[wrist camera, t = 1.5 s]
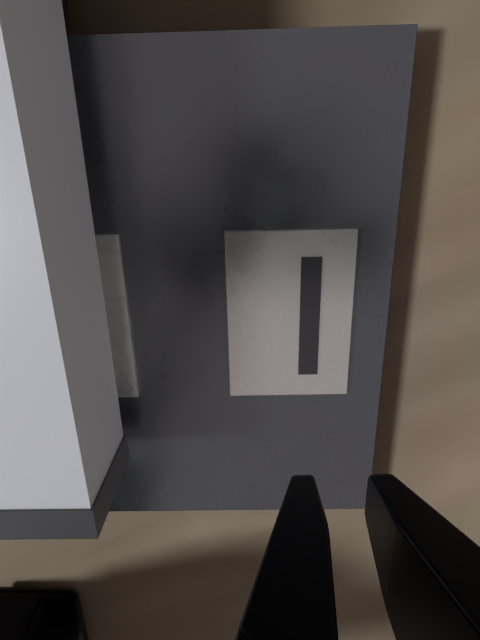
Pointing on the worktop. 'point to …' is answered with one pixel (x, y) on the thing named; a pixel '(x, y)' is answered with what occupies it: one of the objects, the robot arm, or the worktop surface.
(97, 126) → the label board
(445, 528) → the robot arm
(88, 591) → the worktop surface
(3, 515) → the swing arm
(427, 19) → the worktop surface
